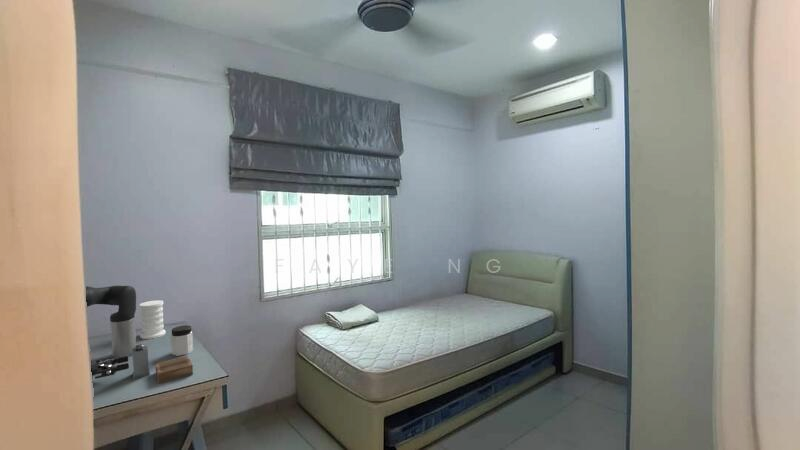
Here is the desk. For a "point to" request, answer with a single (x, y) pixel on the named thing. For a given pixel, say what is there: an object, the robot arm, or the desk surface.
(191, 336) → the jar
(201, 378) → the desk surface
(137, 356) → the block
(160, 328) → the decorative container
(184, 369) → the stand
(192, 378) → the desk surface
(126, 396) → the desk surface
